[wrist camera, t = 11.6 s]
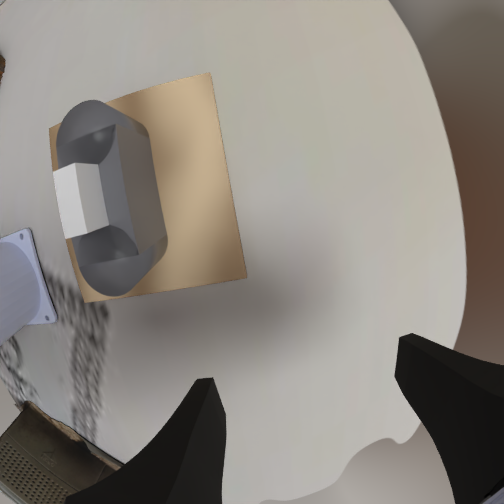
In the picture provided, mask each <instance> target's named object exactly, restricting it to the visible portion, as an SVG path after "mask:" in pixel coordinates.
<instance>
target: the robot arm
mask: <svg viewBox="0 0 504 504" xmlns="http://www.w3.org/2000/svg"><path fill="white" fill-rule="evenodd" d="M22 234H23V235H22ZM23 237H24V238H23ZM48 317H49V318H48ZM56 321H57V315H56V312H55V310H54V307H53V304H52V302H51V299H50V296H49V293H48V290H47V287H46V284H45V281H44V278H43V275H42V271H41V268H40V265H39V261H38V258H37V254H36V250H35V246H34V242H33V238H32V234H31V231H30V229H28V228H25V229H23V230H20V231H17V232H15V233H12V234H10V235H8V236H5V237H3V238H0V346H1V345H2V344H3V343H4V342H5V341H7V340H8V339H9V338H10V337H11V336H13V335H14V334H15V333H16V332H17V331H19V330H20V329H21V328H22V327H24V326H25V325H34V324H49V323H55V322H56ZM394 376H395V379H396V381H397V383H398V385H399V387H400V389H401V391H402V393H403V395H404V396H405V398H406V400H407V401H408V402H409V404H410V405H411V407H412V408H413V410H414V411H415V413H416V414H417V416H418V417H419V419H420V420H421V422H422V423H423V425H424V426H425V428H426V429H427V431H428V432H429V434H430V436H431V437H432V439H433V441H434V443H435V445H436V448H437V450H438V452H439V454H440V456H441V459H442V461H443V464H444V466H445V469H446V471H447V475H448V478H449V481H450V484H451V487H452V491H453V495H454V500H455V504H504V365H499V364H495V363H490V362H486V361H482V360H479V359H476V358H473V357H470V356H467V355H464V354H462V353H459V352H457V351H454V350H452V349H449V348H447V347H444V346H442V345H440V344H437V343H435V342H433V341H431V340H428V339H426V338H424V337H421V336H419V335H416V334H413V333H410V334H408V335H405V336H402V337H399V344H398V353H397V361H396V368H395V375H394ZM225 447H226V413H225V411H224V408H223V405H222V402H221V399H220V396H219V394H218V391H217V388H216V385H215V382H214V379H213V377H212V378H203V379H197V380H196V381H195V382H194V384H193V385H192V387H191V389H190V390H189V392H188V393H187V395H186V396H185V398H184V399H183V401H182V402H181V404H180V405H179V406H178V408H177V409H176V411H175V412H174V413H173V415H172V416H171V418H170V419H169V420H168V421H167V423H166V424H165V425H164V426H163V428H162V429H161V430H160V431H159V432H158V434H157V435H156V436H155V437H154V438H153V439H152V440H151V441H150V442H149V443H148V444H147V445H146V446H145V447H144V448H143V449H142V450H141V451H140V452H139V453H138V454H137V455H136V456H135V457H133V458H132V459H131V460H130V461H128V462H127V463H126V464H125V465H123V466H122V467H121V468H119V469H118V470H117V471H115V472H114V473H112V474H111V475H109V476H108V477H106V478H104V479H103V480H101V481H99V482H97V483H96V484H94V485H92V486H90V487H88V488H86V489H83V490H81V491H79V492H77V493H74V494H72V495H69V496H67V497H66V499H65V501H64V503H63V504H222V477H223V467H224V457H225Z"/></svg>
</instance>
